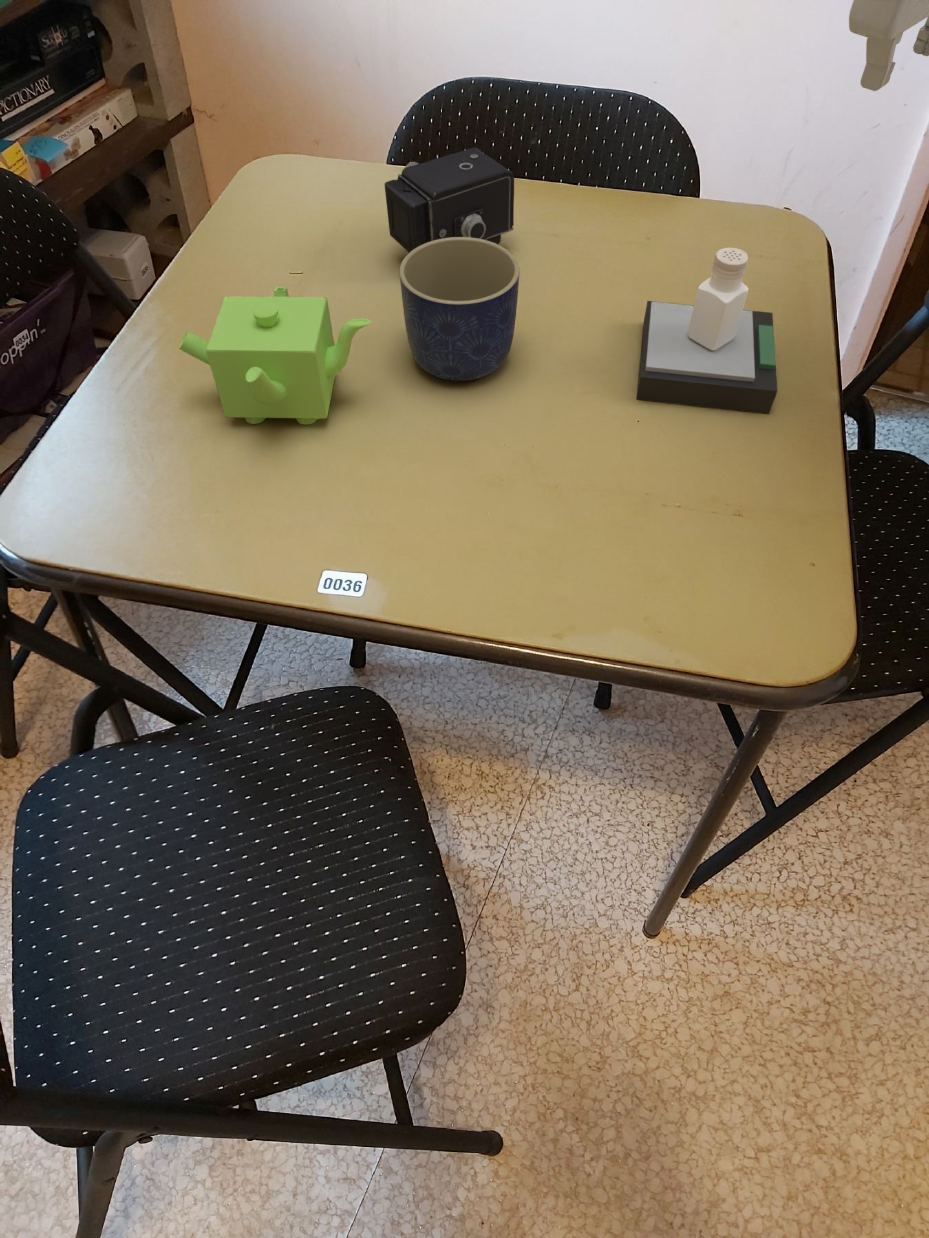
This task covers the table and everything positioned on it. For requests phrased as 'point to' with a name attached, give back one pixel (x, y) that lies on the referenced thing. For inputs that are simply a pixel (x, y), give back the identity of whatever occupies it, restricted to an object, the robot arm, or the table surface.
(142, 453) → the table surface
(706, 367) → the scale
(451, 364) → the planter
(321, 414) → the kettle
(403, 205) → the camera
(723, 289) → the pepper shaker
